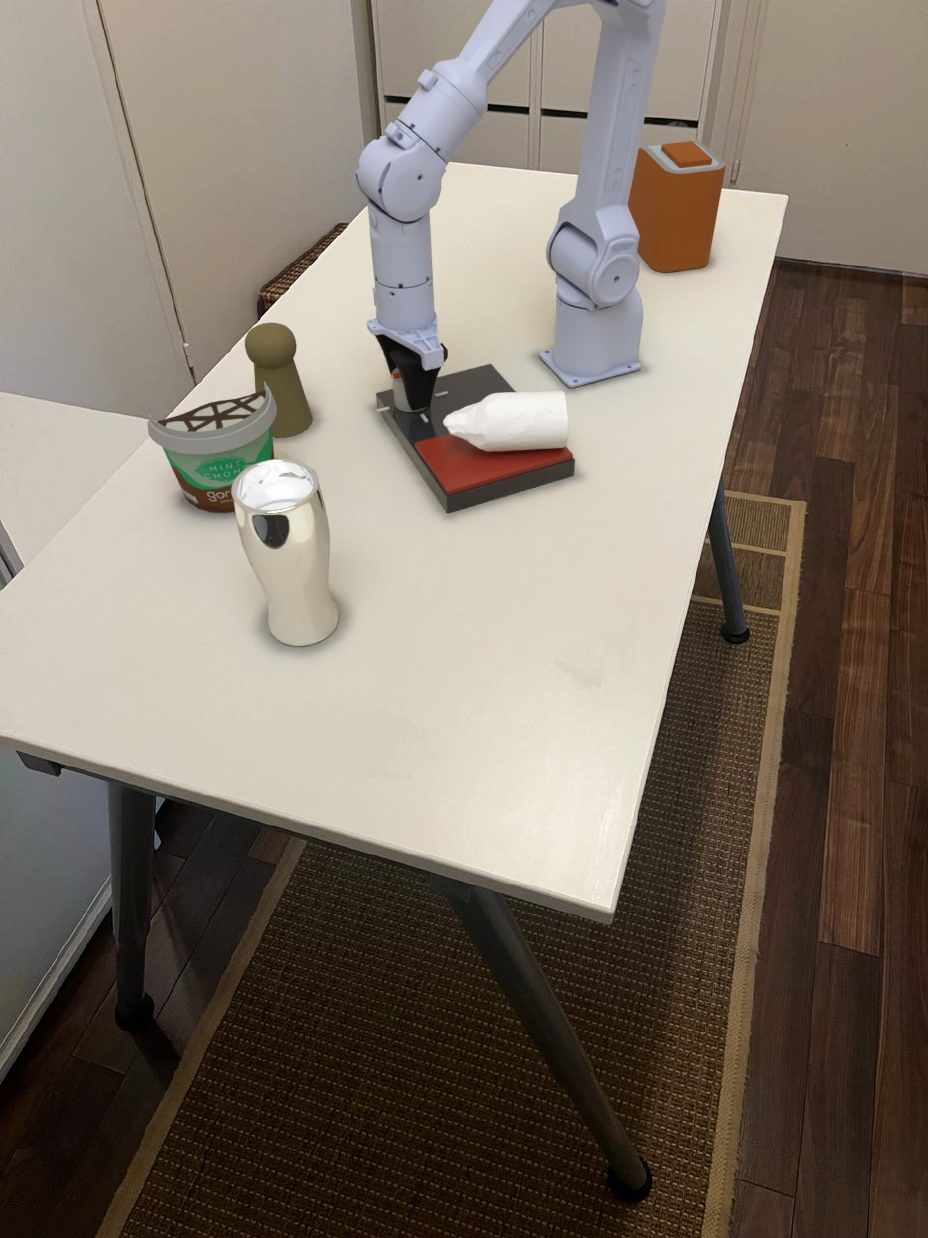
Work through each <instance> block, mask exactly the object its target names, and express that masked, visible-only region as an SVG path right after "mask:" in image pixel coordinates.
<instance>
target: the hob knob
mask: <svg viewBox="0 0 928 1238" xmlns="http://www.w3.org/2000/svg"><path fill="white" fill-rule="evenodd" d="M391 383H392V384H391V385H392V389H393V397H394V405H395V406H396V408H398V409H399V410H401V411H404V412H418V411H422V410H424V409H426V408H427V407H426V408H422V409H418V410H414V411H413V410H412V409H411V408H410V406H409V404H408V401H407V398H406V393H405V389H404V384H403V380H402V377H401V374H400V372H399V370H398V368H395V369H394V370H393V372H392V378H391Z"/></svg>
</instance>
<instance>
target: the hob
mask: <svg viewBox="0 0 928 1238" xmlns="http://www.w3.org/2000/svg"><path fill="white" fill-rule="evenodd" d="M505 392H516V390H515V389H514V388H513V387H512V386H511V385H510V384H509V382H508V381H507V380H506V379H505V377H504V376H502V374H501V373H500V372H499V371H498V370H497V368H496V367H495V366H494V365H493V364H492V363H488V364H487V363H486V364H484V365H479V366H476V367H472V368H467V369H465V370H460V371H456V372H452V373H449V374H445V375H441V376H437V379H436V382H435V386H434V390H433V395H432V399H431V403H430V406H429V407H427V408H426V409H424V410H422V411H418V412H404V411H401V410H399V409H398V408H396V406H395V405H394V397H393V388H389V389H385V390H382V391H379V392H375V400H376V408H377V409H376V413H380V415H381V416H382V418H383V419H384V421H385V422H386V424H387V425H388V427H389V428H390V430H391V431H392V433H393V434H394V437H396V439H397V440H398V441H399V443H400V444H401V447H403V449H404V451H405V453H406V454H407V455H408V457H409V458H410V460H411V461H412V463H413V464H414V466H415V467H416V469H417V470H418V472H419V473H420V474H421V476H422V477H423V479H424V480H425V482H426V483H427V484H428V486H429V488H430V489H431V491H432V492H433V494H434V495H435V498H437V500H438V501H439V503H440V504H441V506H442V507H443V509H444V510H445V512H446V513H447V514H450V513H453V512H456V511H459V510H463V509H467V508H469V507H474V506H477V505H480V504H484V503H486V502H490V501H494V500H496V499H500V498H503V497H506V496H511V495H513V494H516V493H520V492H524V491H526V490H530V489H534V488H536V487H540V486H543V485H547V484H550V483H553V482H557V481H560V480H563V479H567V478H570V477H573V476H575V468H576V459H575V457H573V459H570V460H567V461H564V462H560V463H557V464H553V465H550V466H547V467H543V468H540V469H536V470H533V471H529V472H526V473H523V474H519V475H516V476H512V477H509V478H506V479H502V480H499V481H495V482H492V483H489V484H485V485H482V486H478V487H475V488H472V489H468V490H465V491H461V492H458V493H455V494H451V495H447V493H446V492H445V490H444V489H443V487H442V486H441V484H440V483H439V482H438V480H437V479H436V477H435V476H434V474H433V473H432V471H431V470H430V468H429V467H428V466H427V464H426V463H425V461H424V460H423V458H422V457H421V455H420V454H419V452H418V451H417V449H416V448H415V443H416V442H420V441H423V440H427V439H431V438H434V437H438V436H442V435H445V434H449V431H448V429H447V427H446V426H444V424H443V420H444V419H445V418H446V416H447V415H449V414H451V413H453V412H454V411H458V410H460V409H462V408H464V407H466V406H469V405H472V404H476V403H479V402H481V401H482V400H483V399H484V398H485V397H487V396H488V395H491V394H493V393H505Z"/></svg>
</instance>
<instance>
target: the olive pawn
mask: <svg viewBox="0 0 928 1238" xmlns="http://www.w3.org/2000/svg"><path fill="white" fill-rule="evenodd" d="M297 345H298V344H297V340H296V337H295V334H294V332H293V331H292V330H291V329H290V328H289V327H288V325H286V324H283V323H278V322H265V323H260V324H257V325H255V326H253V327H252V328H251V329H249V331H247V333H246V336H245V338H244V349H245V353H246V355H247V357H248V359H249V360H250V362H252V363H253V373H254V389H255V390H254V391H255V392H254V393H256V392H261V391H264V381H265V383H266V385H267V387H269V389H270V391H271V393H272V395H273V398H274V400H275V402H276V406H277V413H276V416H275V419H274V421H273V423H272V424H271V426H272V438H290V437H294V436H297V435H300V434H302V433H304V432H305V431H306V430H308V429H309V428H310V427H311V426H312V423H313V420H314V417H313V415H312V412H311V409H310V405H309V402H308V399H307V396H306V393H305V390H304V386H303V384H302V381H301V378H300V375H299V371H298V368H297V365H296V362H295V359H294V358H295V356H296V354H297V347H298V346H297Z"/></svg>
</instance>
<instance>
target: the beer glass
mask: <svg viewBox="0 0 928 1238" xmlns="http://www.w3.org/2000/svg"><path fill="white" fill-rule="evenodd" d="M231 493H232V497H233V501H234V508H235V512H234V515H235V520H236V526H237V531H238V535H239V538H240V542H241V545H242V549H243V551H244V554H245V556H246V558H247V561H248V563H249V565H250V566H251V569H252V571H253V573H254V575H255V576H256V579H257V581H258V582H259V584H260V586H261V588H262V591H263V592H264V594H265V597H266V601H267V609H268V610H267V623H268V629H269V631H270V633H271V635H272V636H273V637H274V638H275V639H276V640H277V641H278V642H281V643H282V644H285V645H288V646H291V647H292V646H293V647H305V646H311V645H314V644H317V643H320V642H321V641H323V640H325V639H327V638H328V637H329V636H330V635H331V634H333V632H334V631H335V630H336V628H337V626H338V623H339V620H340V619H339V618H340V614H339V609H338V607H337V605H336V603H335V600H334V598H333V595H332V593H331V589H330V583H329V573H330V558H331V557H330V556H331V532H330V531H331V530H330V524H329V517H328V513H327V508H326V503H325V500H324V496H323V493H322V490H321V486H320V482H319V475H318V474H317V472H316V471H315V469H314V468H313V467H312V466H310V465H309V464H307V463H305V462H303V461H300V460H298V459H291V458H274V459H271V460H266V461H262V462H259V463H256V464H254V465H252V466H250V467H248V468H246V469H245V470H244V471H242V472H241V473H240V474H239V475H238V476H237V477H236V479H235V480H234V482H233V484H232V489H231Z"/></svg>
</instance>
